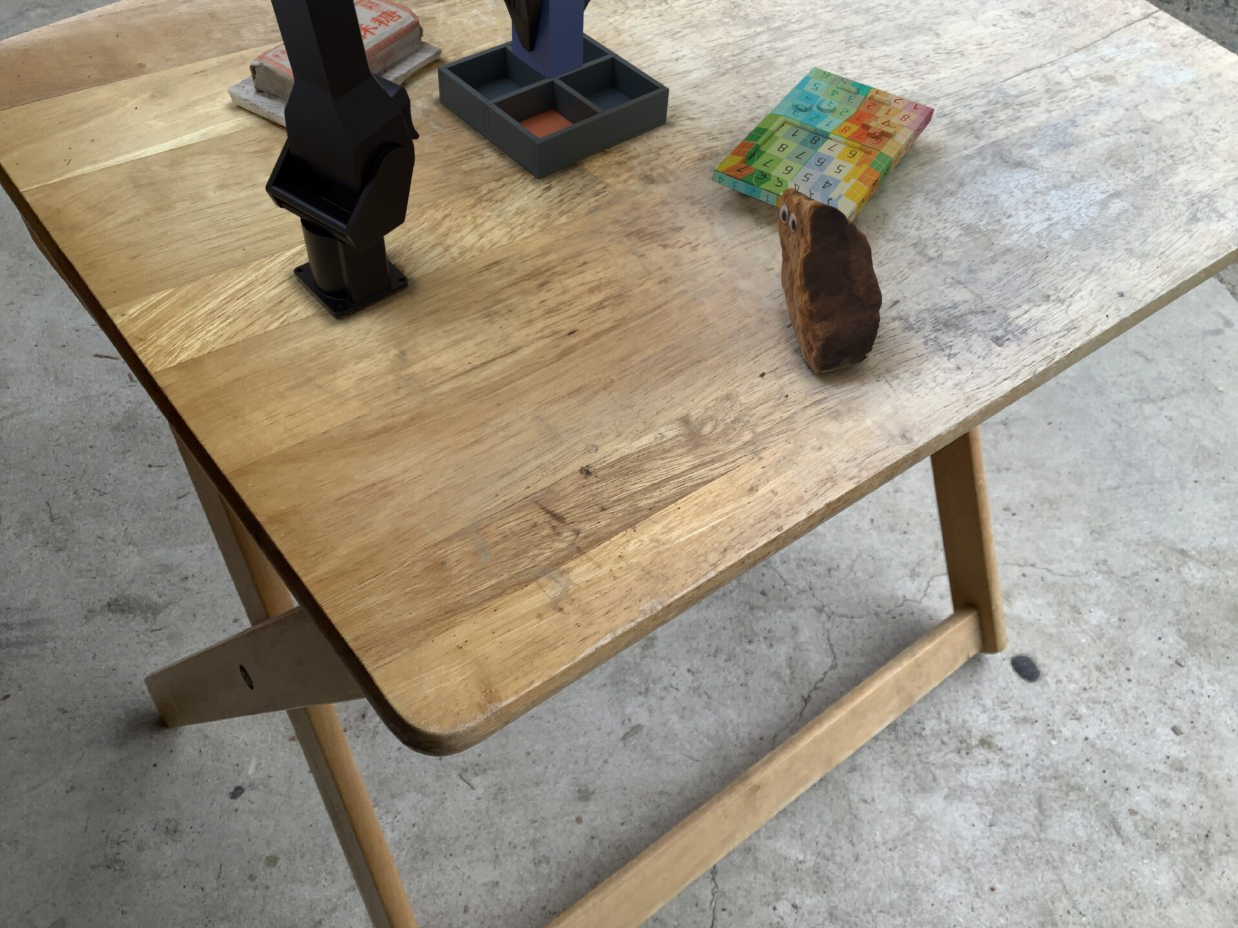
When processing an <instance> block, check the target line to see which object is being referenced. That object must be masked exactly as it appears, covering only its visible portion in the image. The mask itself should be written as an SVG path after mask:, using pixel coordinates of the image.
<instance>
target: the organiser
mask: <svg viewBox="0 0 1238 928" xmlns="http://www.w3.org/2000/svg"><path fill="white" fill-rule="evenodd" d="M437 80H438V81H437V82H438V92H439V93H438V94H439V103H441V104H442V105H443V106H444V107H446V108H447V109H448V110H449V111H451V112H452V113H453V114H455V115H456V116H457V117H458V118H459V119H461V120H462V121H464V123H466V124H467V125H469V126H470V127H471V128H472V129H473V130H475V131H476V132H477V133H479V134H480V135H481V136H483V137H484V138H485V139H487V140H488V141H489V142H490V143H492V144H493V145H494V146H496V147H497V148H498V149H499V150H501V151H502V152H503V153H505V155H507V156H508V157H510V158H511V159H512V160H514V162H516V163H517V164H518V165H519V166H521V167H522V168H523V169H525V170H526V171H527V172H528V173H530V174H531V175H533V176H534V177H535V178H536V179H538V180H540V179H542V178H544V177H546V176H549V175H551V174H553V173H555V172H558V171H560V170H562V169H565V168H567V167H569V166H571V165H574V164H576V163H578V162H580V161H583V160H585V159H587V158H588V159H589V158H590V157H592V156H595V155H597V154H599V153H601V152H603V151H607V150H608V149H610V148H612V147H615V146H617V145H620V144H622V143H624V142H626V141H629V140H631V139H633V138H635V137H638V136H640V135H643V134H645V133H647V132H649V131H652V130H654V129H656V128H658V127H660V126H663V125H665V124H667V117H668V108H669V107H668V106H669V99H670V88H669V87H667V86H666V85H664V84H663V83H661V82H660V81H658V79H655V78H654V77H652V76H650V75H649V74H648V73H646V72H644V70H642V69H640V68H639V67H637V66H635V65H634V64H633V63H631V62H630V61H628V60H627V59H625V58H624V57H622V56H620V55H618V54H617V53H616V52H614V51H613V50H611V49H610V48H608V47H606V46H605V45H604V44H602V43H600V42H599V41H597V40H596V39H594V38H593V37H591V36H590V35H588V34H587V33H585V32H584V31H583V58H582V67H581V68H578V69H576V70H573V71H570V72H568V73H565V74H563V75H560V76H557V77H555V78H552V79H550V80H549V79H547V78H546V77H544V76H543V75H542V74H540V73H539V72H537V71H536V70H535V69H533V68H532V67H530V66H529V65H527V64H526V63H525V62H523V61H522V60H520V59H519V58H518V57H516V56H515V55H513V54H512V40H510V41H506V42H504V43H501V44H498V45H495V46H493V47H490V48H487V49H484V50H482V51H479V52H476V53H473V54H470V55H467V56H465V57H462V58H459V59H456V60H453V61H451V62H447V63H445V64H442V65H439V66H437Z"/></svg>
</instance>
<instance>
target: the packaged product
mask: <svg viewBox="0 0 1238 928" xmlns="http://www.w3.org/2000/svg"><path fill="white" fill-rule="evenodd" d="M354 4H355V8H356V13H357V17H358V21H359V25H360V30H361V34H362V38H363V42H364V47H365V51H366V55H367V59H368V64H369V67H370V69H371V72H373V73H375V74H377V75H379V76H382V77H384V78H386V79H388V80H390V81H392V82H394V83H396V84H398V85H400V86H401V85H402V84H403V83H404V81H405V80H406V79H407V78H409V77H410V76H412V75H413V74H414V73H415V72H417V71H419V70H420V69H421V68H423V67H425V66H427V65H428V64H430V63H432V62H434V61H435V60H437V59H439V58H440V57H441V55H442V54H443V51H442V48H441V47H438V46H435V45H434V44H431V43H428V42H427V41H422V38H423V37H424V28H423V27H422V24H421V23H420V19H419V16H418V15H417V14H416V13H415V12H414V11H413V10H412V9H411V8H410V7H409V6H407V5H402V4H401V3H397V2H394V1H393V0H357V1H354ZM249 71H250V76H248V77H247V78H245V79H242V80H241V81H240V82H238V83H236V84H234V85H232V86H230V87H228V88H227V93H228V95H229V97H230V99H231V101H232V104H234V105H237V106H238V107H240V108H243V109H245V110H248V111H250V112H252V113H254V114H256V115H259V116H261V117H263V118H265V119H267V120H270V121H271V122H274V123H276V124H279V125H281V126H282V127H285V128H286V123H285V116H284V107H285V104H286V101H287V99H288V96H289V93H290V90H291V88H292V85H293V82H294V77H293V73H292V69H291V66H290V63H289V59H288V56H287V53H286V49H285V46H284V43H283V42H282V43H280V44H278V45H276V46H274V47H273V48H271V49H269V50H267V51H265V52H263V53H262V54H259V55H257V56H256V57H255V58H253V59H252V60H251V62H250V64H249Z"/></svg>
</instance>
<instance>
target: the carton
mask: <svg viewBox="0 0 1238 928" xmlns="http://www.w3.org/2000/svg"><path fill="white" fill-rule="evenodd" d="M584 22H585V11H584V0H543V1H542V7H541V14H540V21H539V28H538V35H537V39H536V43H535V47H534V50H533V51H532V52H528V51H527V50H525V49H524V48H523V47H522V45H521V43H520V40H519V38H518V35H517V33H516V30H515V28H514V25H513V22H512V21H511V41H512V54H513V55H515V56H516V57H518V58H519V59H520V60H522V61H523V62H525V63H526V64H527V65H529V66H530V67H532V68H533V69H535V70H536V71H537V72H539V73H540V74H542V75H543V76H544V77H546V78H547V79H549V80H550V79H552V78H555V77H557V76H560V75H563V74H565V73H568V72H570V71H573V70H576V69H578V68H581V67H582V58H583V32H584V26H585V25H584Z"/></svg>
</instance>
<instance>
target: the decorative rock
mask: <svg viewBox="0 0 1238 928" xmlns="http://www.w3.org/2000/svg"><path fill="white" fill-rule="evenodd" d="M855 223H856V222H854V220H853V221H852V220H849V219H848V218H847V217H846V215H845V214H844V213H842V212H841V211H840V210H839V209H837V208H835V207H833V206H830V205H827V204H824V203H821V202H818V201H814V200H812V199H811V198H809V197H808V196H806V195H805V194H803V193H801V192H799V191H797V190H795V189H794V188H789V189H786V190H784V191H783V193H782V197H781V203H780V208H779V215H778V221H777V229H778V231H777V232H778V235H779V242H780V247H781V266H780V279H781V280H780V281H781V287H782V289H783V290H782V291H784V297H785V303H786V307H787V309H788V313H789V317H790V323H791V325H792V327H793V329H794V331H795V333H796V338H797V342H798V346H799V347H800V351H801V353H800V354H801V356H802V358H803V360H804V361H805V363H806V364H807V365H808V366H809V368H810V369H811V370H812V371H813V373H814V374H816V375H818V374H823V373H827V372H833V371H836V370H840V369H843V368H847V367H851V366H854V365H857V364H858V365H860V364H861V363H863V362H864V361H866V360H867V358H868V356H867V355H868V354H870V353H871V352H872V351H873V348H874V344H875V342H876V339H877V336H878V332H879V329H880V324H881V313H880V310H881V308H882V305H883V294H882V290H881V288H880V285H879V280H878V277H877V275H876V271H875V269H874V261H873V254H872V247H871V245H870V243H869V240H868V237H867V235H866V234H865V233H864V232H862V231H861V230H860V229H859V228H858V227H857V225H856V224H855Z"/></svg>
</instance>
